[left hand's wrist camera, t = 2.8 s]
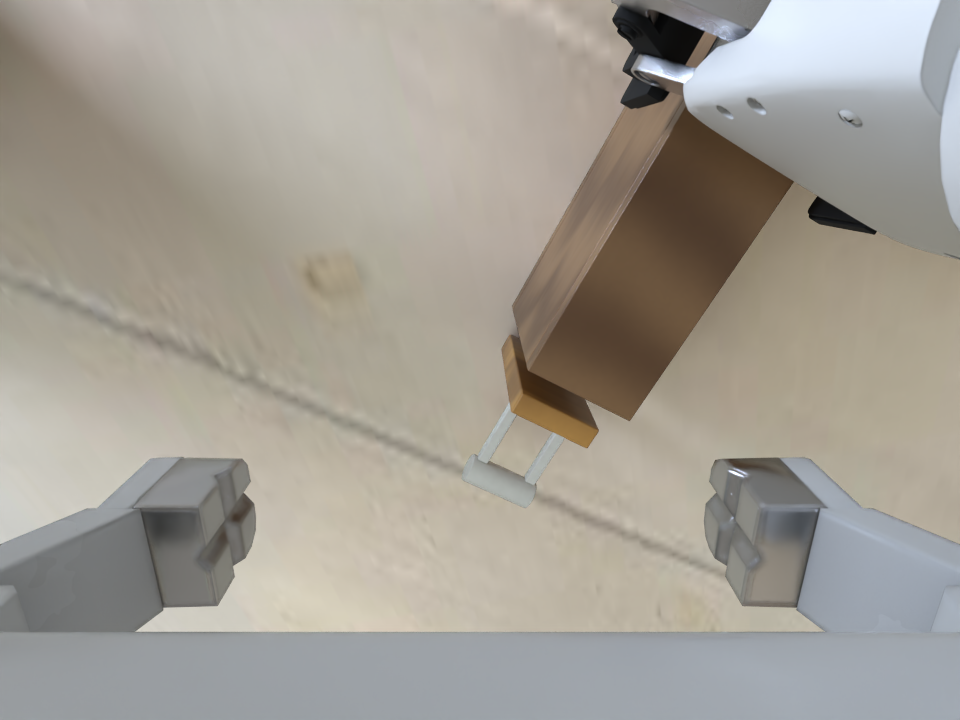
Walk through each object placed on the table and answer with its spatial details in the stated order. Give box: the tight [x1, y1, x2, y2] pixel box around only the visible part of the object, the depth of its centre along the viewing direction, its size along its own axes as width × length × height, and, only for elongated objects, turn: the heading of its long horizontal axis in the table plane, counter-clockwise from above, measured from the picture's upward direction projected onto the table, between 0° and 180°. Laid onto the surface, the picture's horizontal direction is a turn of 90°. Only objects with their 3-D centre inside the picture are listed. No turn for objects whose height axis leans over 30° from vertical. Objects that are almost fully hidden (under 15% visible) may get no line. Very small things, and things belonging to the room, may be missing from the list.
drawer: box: [462, 335, 599, 508], centre depth 32 cm, size 22×4×9 cm, turn 152°
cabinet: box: [512, 31, 794, 421], centre depth 30 cm, size 17×6×11 cm, turn 152°
